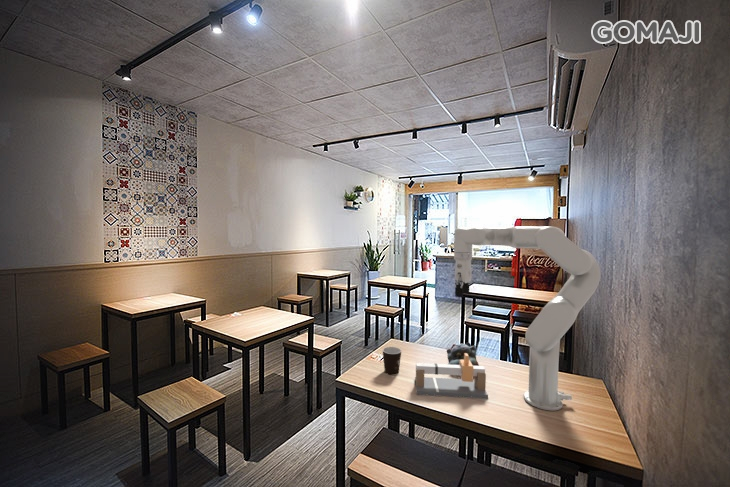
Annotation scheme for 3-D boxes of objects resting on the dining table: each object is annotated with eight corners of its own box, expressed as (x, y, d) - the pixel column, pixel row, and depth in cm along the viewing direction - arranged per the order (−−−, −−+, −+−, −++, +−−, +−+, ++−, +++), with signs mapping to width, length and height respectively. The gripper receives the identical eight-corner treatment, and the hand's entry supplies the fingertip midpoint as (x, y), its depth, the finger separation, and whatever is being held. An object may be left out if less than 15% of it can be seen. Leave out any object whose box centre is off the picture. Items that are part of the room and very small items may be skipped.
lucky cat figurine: (442, 372, 141) (439, 341, 147) (453, 374, 149) (450, 344, 156) (475, 371, 133) (470, 338, 139) (484, 373, 141) (480, 342, 147)
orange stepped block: (469, 374, 129) (469, 351, 128) (473, 381, 122) (473, 357, 122) (459, 374, 129) (459, 351, 129) (462, 381, 123) (463, 357, 122)
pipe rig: (479, 383, 131) (479, 361, 131) (488, 398, 119) (488, 374, 119) (415, 380, 134) (415, 358, 133) (417, 394, 122) (417, 370, 121)
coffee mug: (390, 378, 136) (391, 355, 135) (378, 370, 143) (378, 349, 142) (409, 371, 143) (410, 349, 142) (397, 364, 149) (397, 344, 149)
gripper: (466, 258, 126) (465, 299, 127) (476, 255, 141) (476, 293, 141) (448, 257, 130) (447, 297, 131) (460, 254, 145) (459, 291, 145)
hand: (462, 295), depth 136 cm, fingers open, 9 cm apart
